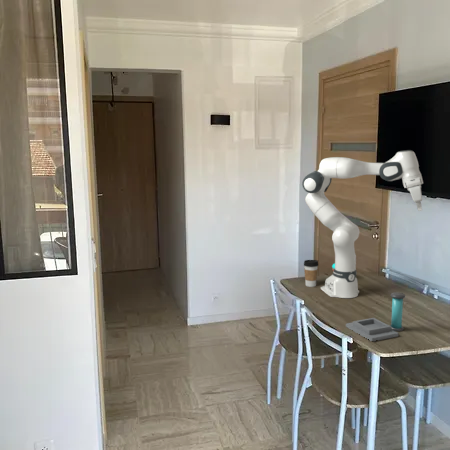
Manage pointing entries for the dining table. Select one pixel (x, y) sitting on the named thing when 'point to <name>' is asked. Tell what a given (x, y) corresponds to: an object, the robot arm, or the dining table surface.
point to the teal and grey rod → (397, 311)
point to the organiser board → (372, 329)
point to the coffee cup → (310, 272)
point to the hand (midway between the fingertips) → (420, 210)
